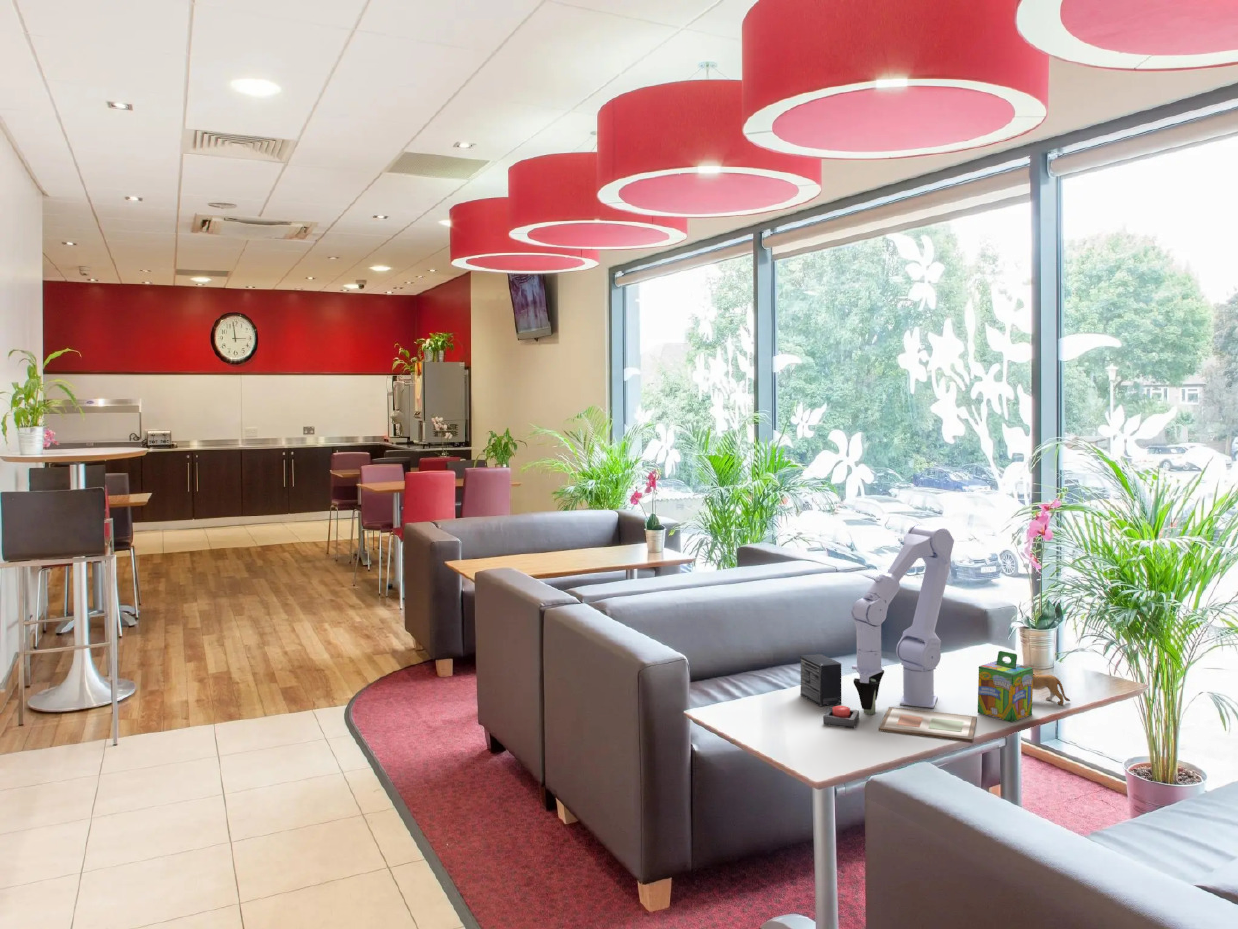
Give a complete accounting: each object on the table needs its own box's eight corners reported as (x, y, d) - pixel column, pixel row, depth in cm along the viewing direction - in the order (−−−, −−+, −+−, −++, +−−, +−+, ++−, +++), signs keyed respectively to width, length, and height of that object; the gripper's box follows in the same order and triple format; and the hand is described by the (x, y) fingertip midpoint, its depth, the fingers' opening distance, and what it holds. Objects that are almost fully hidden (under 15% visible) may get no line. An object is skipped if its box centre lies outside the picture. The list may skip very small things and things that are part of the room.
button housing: (829, 715, 219) (829, 707, 219) (859, 719, 216) (859, 710, 216) (823, 724, 212) (823, 716, 212) (853, 728, 209) (853, 720, 209)
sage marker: (864, 710, 222) (863, 677, 222) (876, 711, 221) (876, 679, 220) (862, 713, 219) (861, 681, 219) (874, 715, 218) (874, 682, 218)
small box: (843, 704, 227) (843, 662, 226) (820, 707, 225) (820, 665, 224) (821, 692, 237) (821, 652, 236) (799, 695, 235) (798, 655, 234)
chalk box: (976, 713, 218) (976, 652, 217) (997, 705, 223) (997, 646, 222) (1013, 723, 210) (1013, 660, 209) (1034, 715, 216) (1034, 653, 215)
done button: (834, 712, 217) (834, 705, 217) (851, 714, 215) (851, 706, 215) (831, 717, 213) (830, 710, 213) (848, 719, 211) (848, 712, 211)
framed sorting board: (889, 709, 222) (888, 706, 222) (976, 719, 214) (976, 715, 214) (878, 730, 208) (878, 727, 208) (972, 742, 199) (972, 738, 199)
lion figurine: (1006, 702, 225) (1006, 666, 225) (1004, 695, 230) (1004, 660, 230) (1072, 706, 221) (1072, 669, 221) (1068, 699, 226) (1068, 664, 226)
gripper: (857, 640, 228) (857, 693, 228) (846, 655, 214) (846, 711, 215) (886, 642, 225) (886, 696, 225) (877, 657, 211) (877, 715, 212)
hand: (869, 704), depth 220 cm, fingers open, 7 cm apart
